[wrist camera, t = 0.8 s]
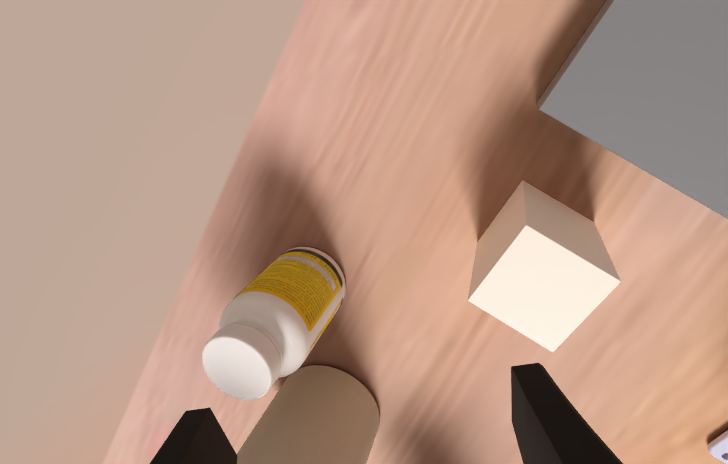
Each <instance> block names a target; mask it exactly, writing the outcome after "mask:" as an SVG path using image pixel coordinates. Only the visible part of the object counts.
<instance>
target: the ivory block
mask: <svg viewBox="0 0 728 464" xmlns="http://www.w3.org/2000/svg"><path fill="white" fill-rule="evenodd" d="M620 282H621V280H620V278H619V276H618V274H617V272H616V269H615V267H614V265H613V263H612V261H611V258H610V256H609V254H608V252H607V250H606V247H605V245H604V243H603V241H602V238H601V236H600V234H599V232H598V230H597V227H596V225H595V223H594V222H593V221H591V220H589V219H588V218H586V217H584V216H583V215H581V214H579V213H578V212H576V211H574V210H572V209H571V208H569V207H567V206H566V205H564V204H562V203H561V202H559V201H557V200H556V199H554V198H552V197H550V196H549V195H547V194H545V193H544V192H542V191H540V190H539V189H537V188H535V187H533V186H532V185H530V184H528V183H527V182H525V181H523V180H522V181H521V183H520V184H519V186H518V187H517V188H516V190H515V191H514V192H513V194H512V195H511V197H510V198H509V199H508V201H507V202H506V203H505V205H504V206H503V208H502V209H501V210H500V212H499V213H498V214H497V216H496V217H495V219H494V220H493V221H492V223H491V224H490V225H489V227H488V228H487V230H486V231H485V232H484V234H483V235H482V236H481V238H480V239H479V241H478V242H477V248H476V254H475V260H474V266H473V272H472V278H471V284H470V290H469V296H468V301H469V302H471V303H473V304H474V305H476V306H478V307H479V308H481V309H482V310H484V311H486V312H487V313H489V314H491V315H492V316H494V317H496V318H497V319H499V320H500V321H502V322H504V323H505V324H507V325H509V326H510V327H512V328H514V329H515V330H517V331H519V332H520V333H522V334H523V335H525V336H527V337H528V338H530V339H532V340H533V341H535V342H537V343H538V344H540V345H541V346H543V347H545V348H546V349H548V350H550V351H551V352H554V350H555V349H556V348H557V347H558V346H559V345H560V344H561V343H562V342H563V341H564V340H565V339H566V338H567V337H568V336H569V335H570V334H571V333H572V332H573V331H574V330H575V329H576V328H577V327H578V326H579V324H580V323H581V322H582V321H583V320H584V319H585V318H586V317H587V316H588V315H589V314H590V313H591V312H592V311H593V310H594V309H595V308H596V307H597V306H598V305H599V304H600V303H601V302H602V301H603V300H604V299H605V297H606V296H607V295H608V294H609V293H610V292H611V291H612V290H613V289H614V288H615V287H616V286H617V285H618V284H619V283H620Z"/></svg>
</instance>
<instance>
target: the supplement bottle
mask: <svg viewBox="0 0 728 464" xmlns="http://www.w3.org/2000/svg"><path fill="white" fill-rule="evenodd" d="M345 292H346V284H345V279H344V276H343V273H342V271H341V269H340V268H339V266H338V265H337V263H336V262H335V261H334V260H333V259H332V258H331V257H330V256H328V255H327V254H325V253H324V252H322V251H320V250H317V249H315V248H311V247H295V248H292V249H289V250H287V251H285V252H284V253H283V254H281V255H280V256H279V257H278V258H276V259H275V260H274V261H273V262H272V263H271V264H270V265H269V266H268V267H267V268H266V269H265V270H264V271H262V272H261V273H260V275H258V276H257V277H256V278H255V279H254V280H253V281H252V282H251V283H250V284H249V285H248V286H247V287H246V288H244V289H243V290H242V291H241V292H240V293H239V294H238V295H237V296H236V297H235V298H234V299H233V300H232V301H231V302H230V303H229V304H228V305H227V307H226V308H225V310H224V311H223V314H222V316H221V320H220V330H218V331H217V333H216V334H215V335H214V336H213V337H212V338H211V339H210V340H209V341H208V342H207V343H206V345H205V347H204V349H203V353H202V362H203V366H204V369H205V371H206V374H207V375H208V377H209V379H210V380H211V381H212V382H213V383H214V385H215V386H217V387H218V388H219V389H220V390H221V391H223V392H224V393H226V394H227V395H229V396H231V397H234V398H237V399H241V400H255V399H258V398H260V397H262V396H264V395H265V394H266V393H267V392H268V391H269V389H270V388H271V387H272V385H273V384H274V382H275V381H276V380H277V378H281V377H285V376H288V375H290V374H292V373H293V372H295V371H296V370H297V369H298V368H299V367H300V366H301V365H302V364H303V362H304V361H305V360H306V358H307V357H308V355H309V353H310V352H311V350H312V349H313V347H314V346H315V344H316V343H317V341H318V339H319V338H320V336H321V335H322V333H323V332H324V330H325V329H326V327H327V326H328V324H329V323H330V321H331V320H332V318H333V317H334V315H335V314H336V312H337V310H338V309H339V307H340V306H341V304H342V302H343V300H344V297H345Z"/></svg>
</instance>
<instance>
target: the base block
mask: <svg viewBox="0 0 728 464" xmlns="http://www.w3.org/2000/svg"><path fill="white" fill-rule="evenodd" d="M537 106H538V108H539V110H540V111H542V112H544V113H546V114H547V115H549V116H551V117H553V118H554V119H556V120H558V121H559V122H561V123H563V124H565V125H566V126H568V127H570V128H572V129H573V130H575V131H577V132H578V133H580V134H582V135H584V136H585V137H587V138H589V139H591V140H592V141H594V142H596V143H597V144H599V145H601V146H603V147H604V148H606V149H608V150H610V151H611V152H613V153H615V154H616V155H618V156H620V157H622V158H623V159H625V160H627V161H629V162H630V163H632V164H634V165H636V166H637V167H639V168H641V169H642V170H644V171H646V172H648V173H649V174H651V175H653V176H655V177H656V178H658V179H660V180H661V181H663V182H665V183H667V184H668V185H670V186H672V187H674V188H675V189H677V190H679V191H680V192H682V193H684V194H686V195H687V196H689V197H691V198H693V199H694V200H696V201H698V202H699V203H701V204H703V205H705V206H706V207H708V208H710V209H712V210H713V211H715V212H717V213H718V214H720V215H722V216H724V217H725V218H727V219H728V0H606V1H605V3H604V4H603V6H602V7H601V9H600V10H599V12H598V13H597V15H596V16H595V18H594V19H593V21H592V22H591V23H590V25H589V26H588V28H587V29H586V31H585V32H584V34H583V35H582V37H581V38H580V40H579V41H578V43H577V44H576V46H575V47H574V48H573V50H572V51H571V53H570V54H569V56H568V57H567V59H566V60H565V62H564V63H563V65H562V66H561V68H560V69H559V71H558V72H557V73H556V75H555V76H554V78H553V79H552V81H551V82H550V84H549V85H548V87H547V88H546V90H545V91H544V93H543V94H542V96H541V97H540V99H539V100H538V101H537Z"/></svg>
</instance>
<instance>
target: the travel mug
mask: <svg viewBox="0 0 728 464" xmlns="http://www.w3.org/2000/svg"><path fill="white" fill-rule="evenodd" d="M379 421H380V416H379V410H378V407H377V404H376V402H375V400H374V398H373V397H372V395H371V394H370V392H369V391H368V390H367V389H366V387H365V386H364V385H363V384H362V383H360V382H359V381H358V380H357V379H355V378H354V377H352V376H351V375H349V374H347V373H345V372H343V371H341V370H339V369H336V368H332V367H328V366H321V365H312V366H306V367H302V368H300V369H298V370H296V371H295V372H293V373H292V374H290V375H289V376H288V378H287V379H286V381H285V382H284V384H283V385H282V387H281V388H280V390H279V391H278V393H277V394H276V396H275V397H274V399H273V400H272V402H271V403H270V405H269V406H268V408H267V409H266V411H265V412H264V414H263V415H262V417H261V418H260V420H259V421H258V423H257V425H256V426H255V428H254V429H253V431H252V432H251V434H250V435H249V437H248V438H247V440H246V441H245V443H244V444H243V446H242V447H241V449H240V450H239V452H238V453H237V464H366V463H367V460H368V457H369V454H370V451H371V448H372V445H373V442H374V439H375V436H376V433H377V430H378V427H379Z"/></svg>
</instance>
